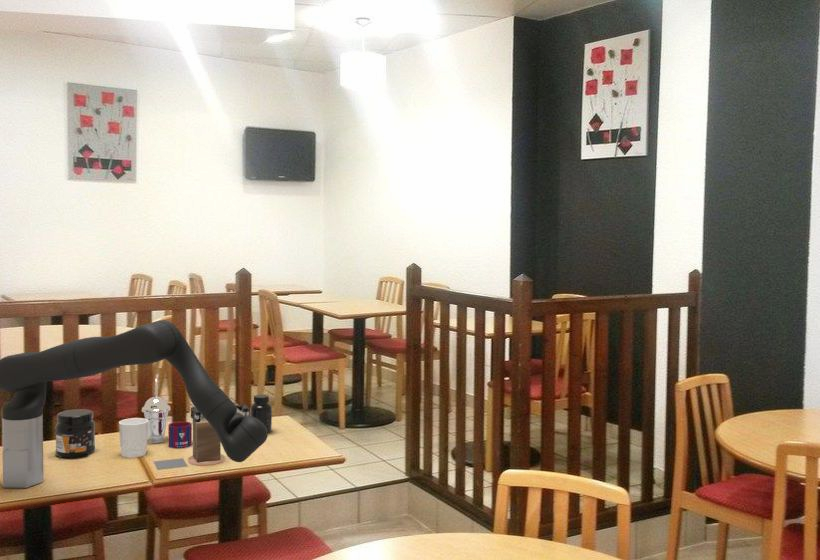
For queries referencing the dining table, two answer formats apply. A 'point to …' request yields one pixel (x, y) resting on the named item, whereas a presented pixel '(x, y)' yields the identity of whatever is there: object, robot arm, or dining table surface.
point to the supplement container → (75, 433)
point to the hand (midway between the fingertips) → (214, 406)
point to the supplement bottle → (262, 410)
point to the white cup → (133, 437)
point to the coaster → (170, 464)
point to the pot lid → (193, 462)
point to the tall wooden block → (205, 442)
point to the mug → (180, 434)
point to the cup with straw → (156, 416)
